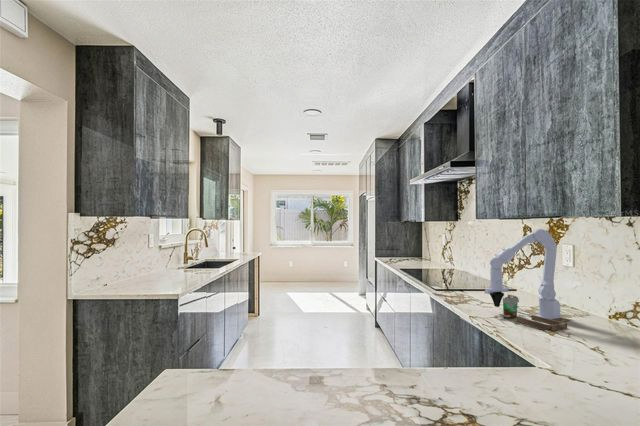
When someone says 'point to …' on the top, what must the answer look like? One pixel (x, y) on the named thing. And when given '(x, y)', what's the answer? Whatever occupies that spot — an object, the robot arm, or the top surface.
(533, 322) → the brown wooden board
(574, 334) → the top surface
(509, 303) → the food container
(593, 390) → the top surface
